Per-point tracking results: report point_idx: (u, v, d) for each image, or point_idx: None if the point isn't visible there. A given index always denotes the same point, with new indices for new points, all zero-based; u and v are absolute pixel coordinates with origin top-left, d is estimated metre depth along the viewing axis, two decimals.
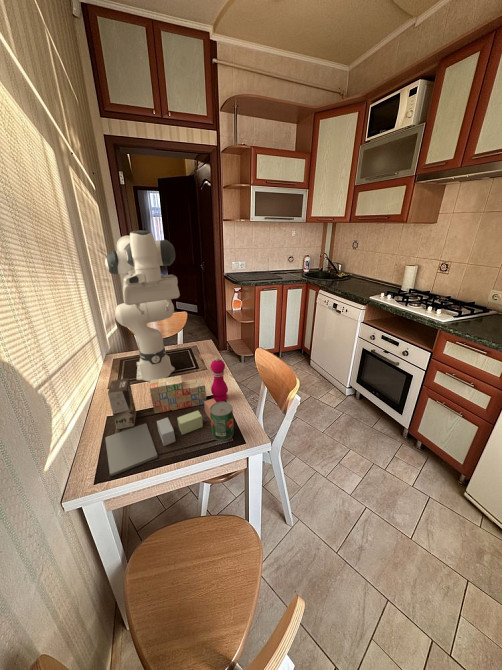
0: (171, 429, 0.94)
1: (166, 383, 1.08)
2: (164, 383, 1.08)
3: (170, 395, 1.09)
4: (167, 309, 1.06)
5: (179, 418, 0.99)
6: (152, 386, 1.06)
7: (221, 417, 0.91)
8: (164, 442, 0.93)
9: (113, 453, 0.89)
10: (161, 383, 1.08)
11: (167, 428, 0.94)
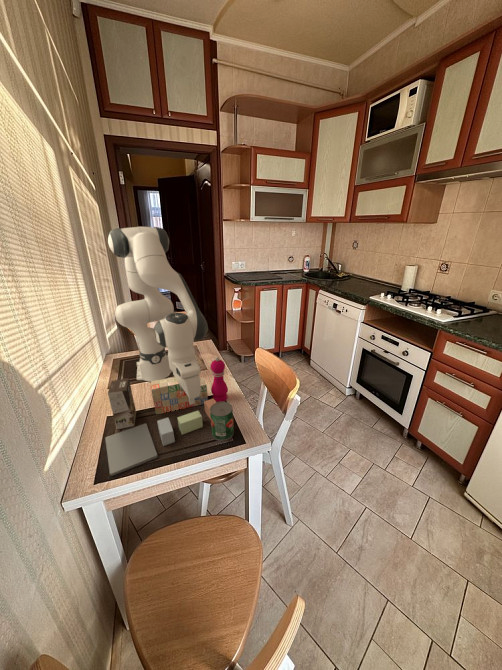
0: (171, 429, 0.94)
1: (167, 384, 1.07)
2: (165, 384, 1.07)
3: (172, 396, 1.08)
4: None
5: (179, 418, 0.99)
6: (153, 387, 1.06)
7: (221, 417, 0.91)
8: (163, 442, 0.93)
9: (113, 453, 0.89)
10: (162, 384, 1.07)
11: (167, 428, 0.94)
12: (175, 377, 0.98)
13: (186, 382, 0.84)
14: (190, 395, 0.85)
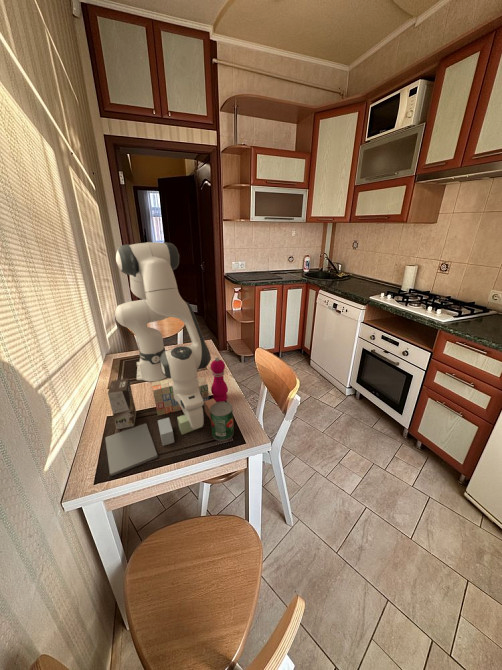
0: (170, 430, 0.94)
1: (169, 384, 1.07)
2: (167, 384, 1.07)
3: None
4: None
5: (179, 418, 0.99)
6: (155, 388, 1.05)
7: (221, 417, 0.91)
8: (163, 442, 0.93)
9: (113, 453, 0.89)
10: (164, 384, 1.07)
11: (167, 428, 0.94)
12: (179, 404, 1.03)
13: (190, 414, 0.89)
14: (193, 426, 0.90)
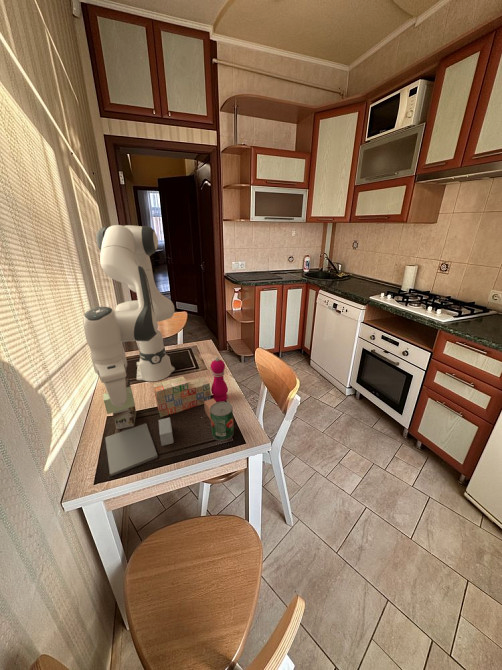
0: (170, 430, 0.93)
1: (171, 385, 1.07)
2: (169, 385, 1.06)
3: (176, 397, 1.08)
4: None
5: (105, 394, 0.84)
6: (158, 389, 1.04)
7: (221, 417, 0.91)
8: (162, 442, 0.93)
9: (113, 453, 0.89)
10: (166, 385, 1.06)
11: (166, 428, 0.94)
12: None
13: (107, 387, 0.73)
14: (113, 401, 0.74)
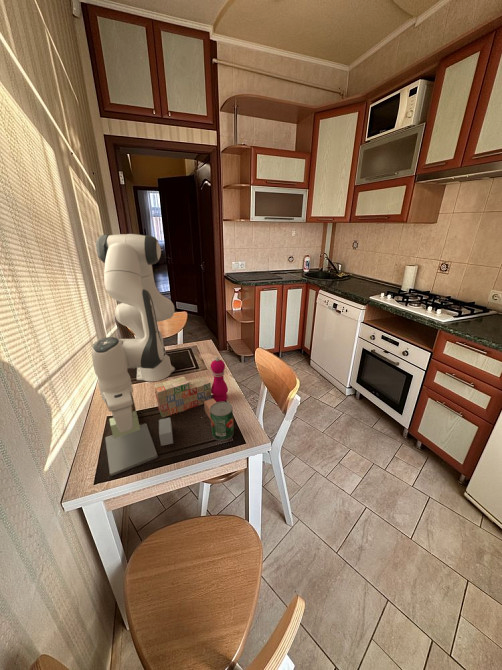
0: (169, 430, 0.93)
1: (172, 385, 1.06)
2: (171, 385, 1.06)
3: (178, 397, 1.07)
4: None
5: (111, 419, 0.87)
6: (159, 390, 1.04)
7: (221, 417, 0.91)
8: (161, 442, 0.93)
9: (113, 453, 0.89)
10: (168, 386, 1.06)
11: (166, 428, 0.94)
12: None
13: (114, 415, 0.76)
14: (120, 429, 0.78)
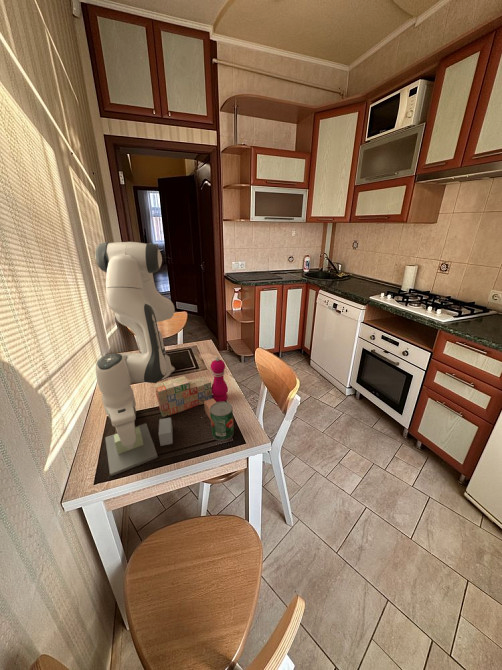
0: (169, 430, 0.93)
1: (173, 385, 1.07)
2: (171, 385, 1.06)
3: (178, 396, 1.08)
4: None
5: (115, 435, 0.90)
6: (160, 389, 1.04)
7: (221, 417, 0.91)
8: (161, 442, 0.93)
9: (113, 453, 0.89)
10: (168, 385, 1.06)
11: (166, 428, 0.94)
12: None
13: (118, 430, 0.79)
14: (123, 443, 0.80)
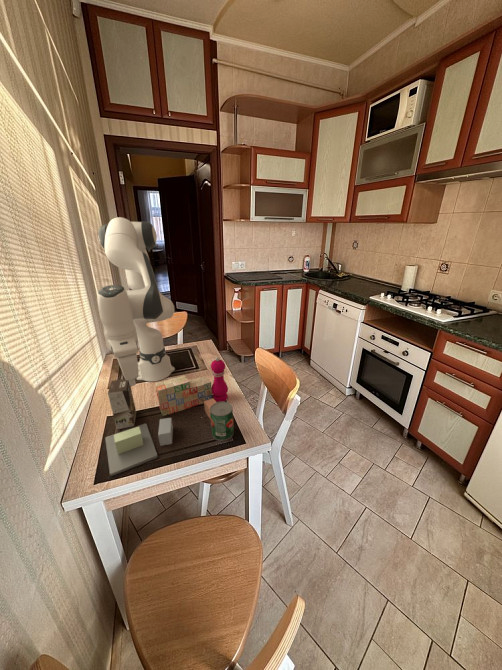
0: (168, 431, 0.93)
1: (173, 384, 1.07)
2: (171, 384, 1.07)
3: (178, 396, 1.08)
4: None
5: (115, 435, 0.90)
6: (160, 388, 1.05)
7: (221, 417, 0.91)
8: (160, 442, 0.93)
9: (113, 453, 0.89)
10: (168, 384, 1.07)
11: (166, 428, 0.94)
12: None
13: (120, 361, 0.77)
14: (125, 376, 0.78)
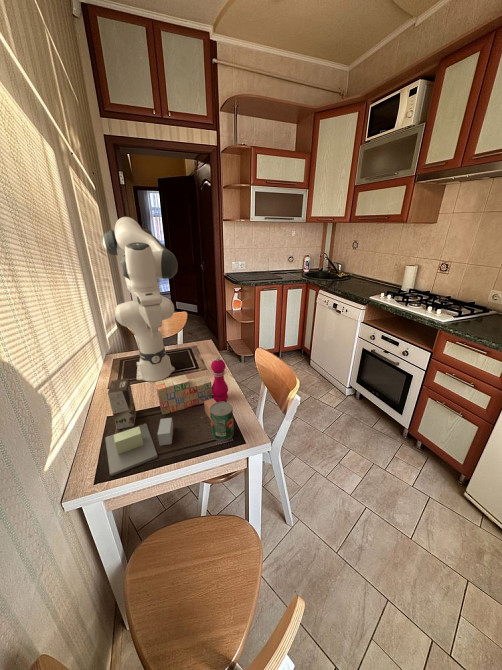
0: (168, 431, 0.93)
1: (173, 383, 1.08)
2: (171, 383, 1.07)
3: (178, 395, 1.09)
4: None
5: (115, 435, 0.90)
6: (160, 387, 1.05)
7: (221, 417, 0.91)
8: (160, 442, 0.93)
9: (113, 453, 0.89)
10: (168, 383, 1.07)
11: (165, 428, 0.94)
12: (141, 315, 0.98)
13: (146, 310, 0.84)
14: (151, 323, 0.85)
